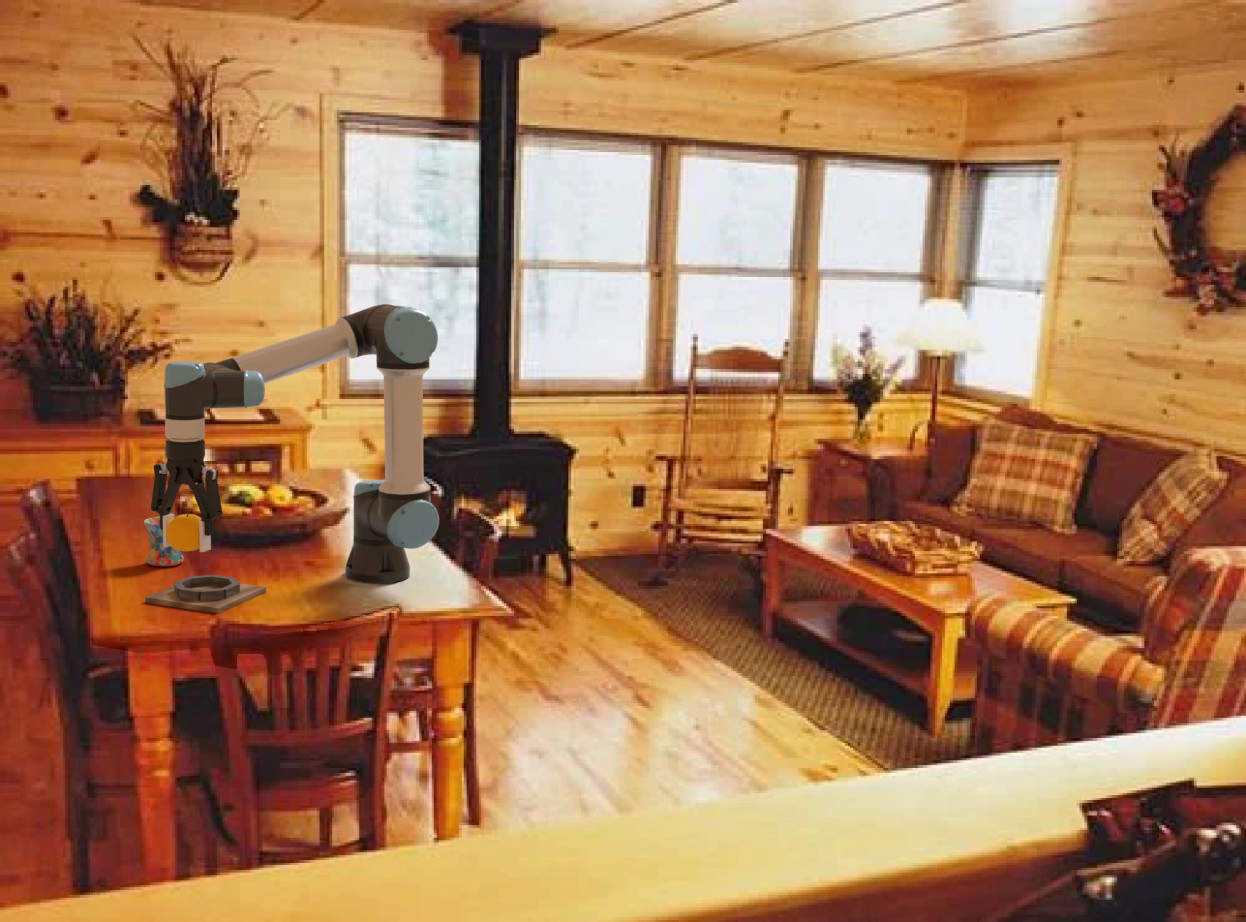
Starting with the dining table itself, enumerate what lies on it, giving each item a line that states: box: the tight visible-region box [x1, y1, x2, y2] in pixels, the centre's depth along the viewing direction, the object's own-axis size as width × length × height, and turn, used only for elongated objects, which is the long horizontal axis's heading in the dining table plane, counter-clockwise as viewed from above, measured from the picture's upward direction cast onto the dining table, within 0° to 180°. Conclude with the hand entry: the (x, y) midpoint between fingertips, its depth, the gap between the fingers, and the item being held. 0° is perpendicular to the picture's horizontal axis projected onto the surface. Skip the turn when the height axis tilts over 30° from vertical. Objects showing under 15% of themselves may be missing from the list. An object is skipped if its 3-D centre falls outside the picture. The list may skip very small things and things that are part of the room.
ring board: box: [144, 574, 267, 615], centre depth 270 cm, size 18×18×3 cm
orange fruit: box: [167, 513, 202, 552], centre depth 253 cm, size 8×8×8 cm
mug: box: [143, 516, 185, 567], centre depth 295 cm, size 12×9×11 cm
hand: (187, 547), depth 254 cm, fingers closed on orange fruit, 8 cm apart
